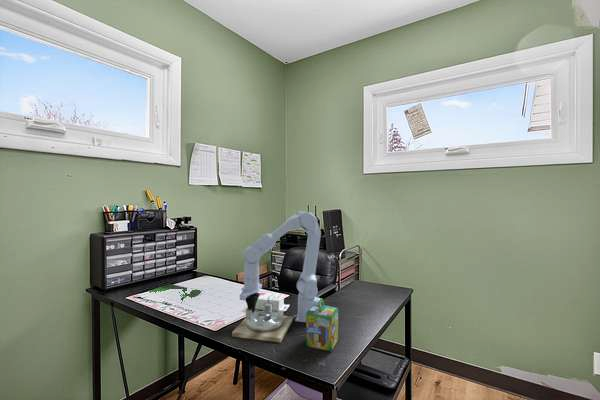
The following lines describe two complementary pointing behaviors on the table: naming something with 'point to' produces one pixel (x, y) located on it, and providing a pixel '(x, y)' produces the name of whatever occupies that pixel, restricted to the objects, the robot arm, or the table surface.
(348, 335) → the table surface
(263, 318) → the clear bowl
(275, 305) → the ink cartridge box
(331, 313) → the chalk box
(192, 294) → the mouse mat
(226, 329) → the table surface
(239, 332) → the base plate
